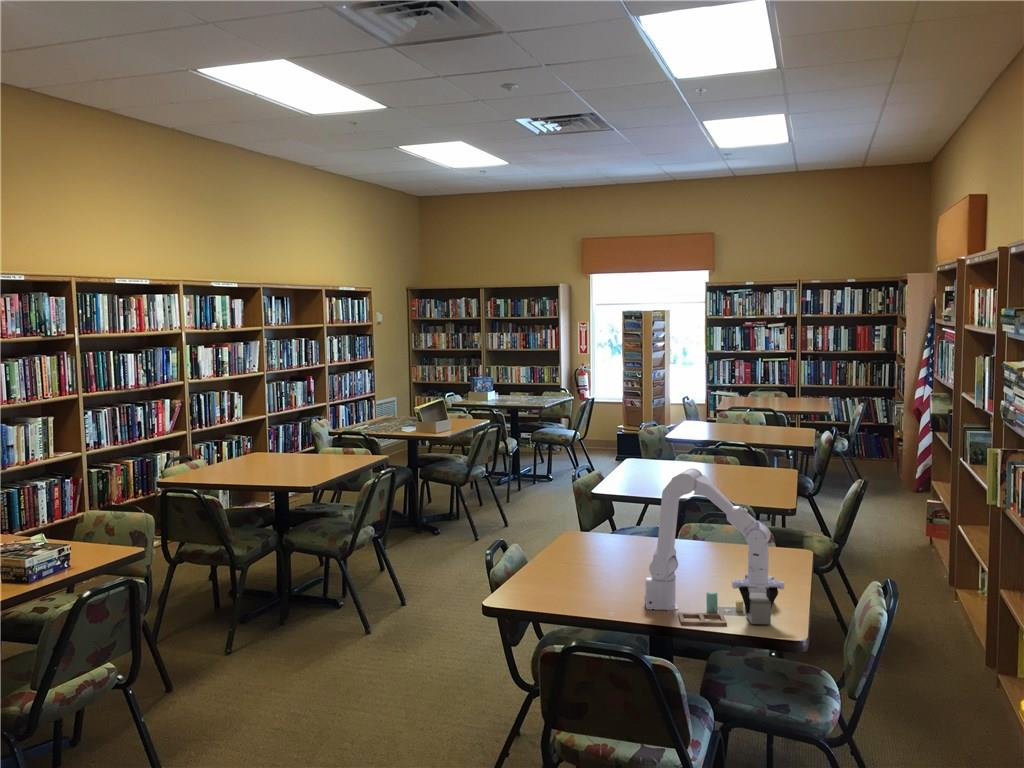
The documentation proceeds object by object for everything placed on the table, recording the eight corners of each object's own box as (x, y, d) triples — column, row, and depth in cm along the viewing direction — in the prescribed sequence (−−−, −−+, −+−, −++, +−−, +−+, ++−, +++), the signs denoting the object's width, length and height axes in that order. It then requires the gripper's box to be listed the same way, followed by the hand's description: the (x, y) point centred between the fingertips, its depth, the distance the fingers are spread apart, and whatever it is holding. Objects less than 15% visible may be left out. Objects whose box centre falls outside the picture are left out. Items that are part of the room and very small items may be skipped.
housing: (745, 613, 237) (745, 592, 237) (763, 614, 237) (764, 592, 237) (751, 623, 229) (751, 601, 229) (770, 624, 229) (771, 602, 229)
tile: (720, 615, 239) (720, 604, 239) (716, 607, 246) (716, 597, 246) (751, 616, 238) (751, 605, 238) (746, 608, 245) (746, 597, 245)
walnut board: (681, 625, 231) (681, 621, 231) (678, 616, 239) (678, 612, 239) (726, 626, 230) (726, 622, 230) (722, 617, 238) (722, 613, 238)
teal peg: (707, 614, 240) (707, 594, 240) (705, 610, 243) (705, 591, 243) (718, 614, 240) (718, 594, 239) (716, 610, 243) (716, 591, 243)
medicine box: (774, 603, 249) (774, 576, 248) (768, 607, 246) (768, 579, 245) (750, 597, 254) (750, 571, 254) (744, 601, 251) (744, 574, 250)
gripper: (735, 570, 229) (734, 616, 230) (787, 571, 228) (786, 617, 228) (730, 563, 236) (730, 608, 237) (781, 564, 235) (780, 609, 235)
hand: (757, 612), depth 233 cm, fingers closed on housing, 5 cm apart
